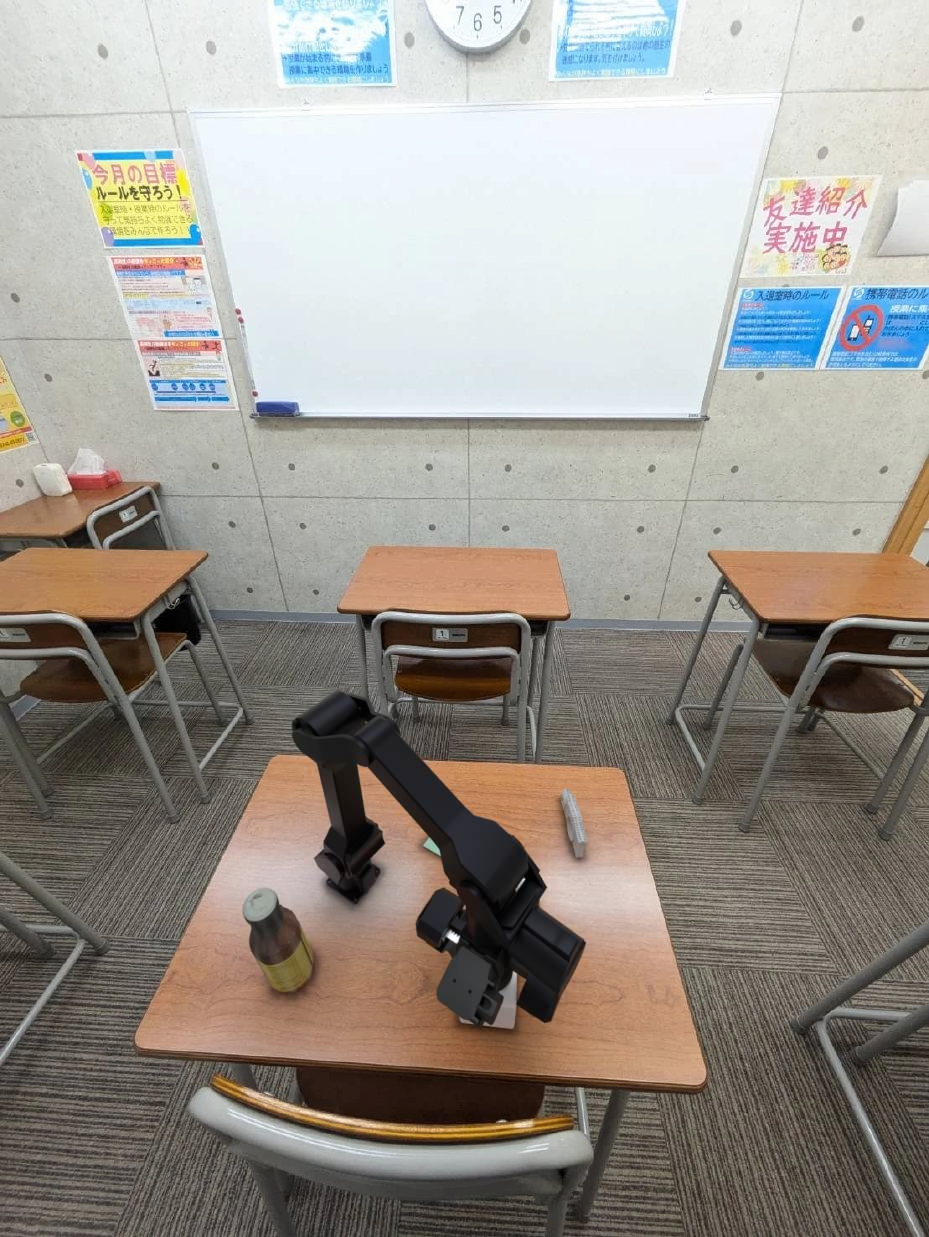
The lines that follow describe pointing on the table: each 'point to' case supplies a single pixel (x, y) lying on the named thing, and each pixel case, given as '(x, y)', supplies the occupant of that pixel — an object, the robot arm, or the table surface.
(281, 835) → the table surface
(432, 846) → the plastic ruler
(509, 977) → the security camera
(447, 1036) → the table surface
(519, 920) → the robot arm
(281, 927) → the sauce bottle
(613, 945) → the table surface
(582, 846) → the garden wall model
